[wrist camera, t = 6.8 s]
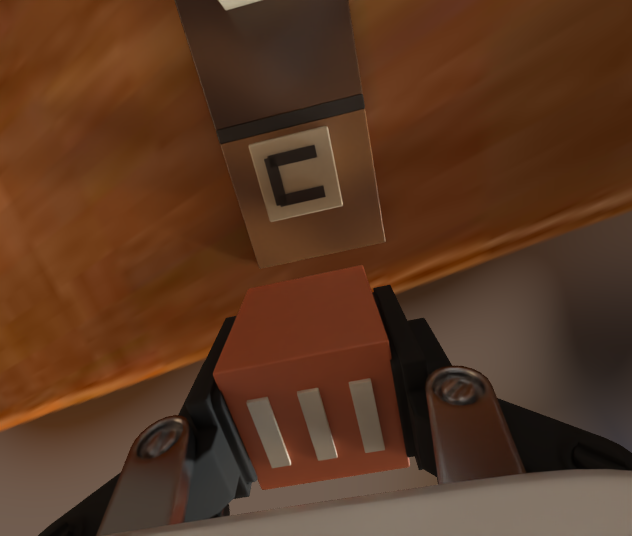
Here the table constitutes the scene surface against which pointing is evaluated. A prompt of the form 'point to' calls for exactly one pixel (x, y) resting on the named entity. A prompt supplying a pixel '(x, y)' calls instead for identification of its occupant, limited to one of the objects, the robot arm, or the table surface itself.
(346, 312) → the three-striped orange cube
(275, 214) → the tile
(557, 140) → the table surface
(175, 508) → the robot arm
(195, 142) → the table surface
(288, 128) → the letter board
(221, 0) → the tile
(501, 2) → the table surface
